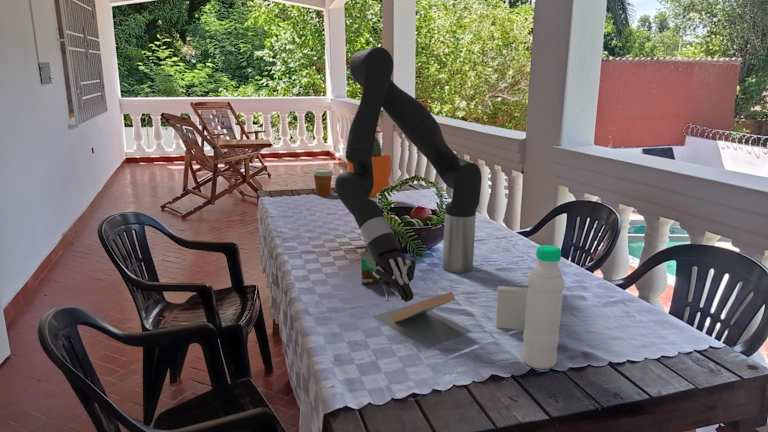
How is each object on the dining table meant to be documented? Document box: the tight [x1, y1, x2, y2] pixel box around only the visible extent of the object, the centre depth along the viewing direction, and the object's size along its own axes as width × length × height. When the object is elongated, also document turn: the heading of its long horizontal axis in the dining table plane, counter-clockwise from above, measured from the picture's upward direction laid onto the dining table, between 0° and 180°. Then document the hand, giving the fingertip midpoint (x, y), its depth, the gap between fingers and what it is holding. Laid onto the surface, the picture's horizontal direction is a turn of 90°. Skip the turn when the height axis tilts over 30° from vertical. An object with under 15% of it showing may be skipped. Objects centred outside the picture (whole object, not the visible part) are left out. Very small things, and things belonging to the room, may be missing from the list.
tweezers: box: [380, 282, 403, 302], centre depth 154 cm, size 18×5×2 cm, turn 14°
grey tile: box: [494, 285, 528, 332], centre depth 131 cm, size 2×8×10 cm, turn 83°
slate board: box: [372, 302, 473, 349], centre depth 133 cm, size 20×14×1 cm
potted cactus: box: [346, 123, 393, 203], centre depth 252 cm, size 22×22×35 cm
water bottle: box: [521, 244, 565, 370], centre depth 114 cm, size 7×7×25 cm
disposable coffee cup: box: [312, 168, 334, 197], centre depth 269 cm, size 10×10×12 cm
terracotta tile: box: [392, 291, 456, 323], centre depth 132 cm, size 2×10×12 cm
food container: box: [360, 247, 381, 286], centre depth 160 cm, size 12×6×10 cm, turn 168°
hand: (409, 300), depth 135 cm, fingers closed
